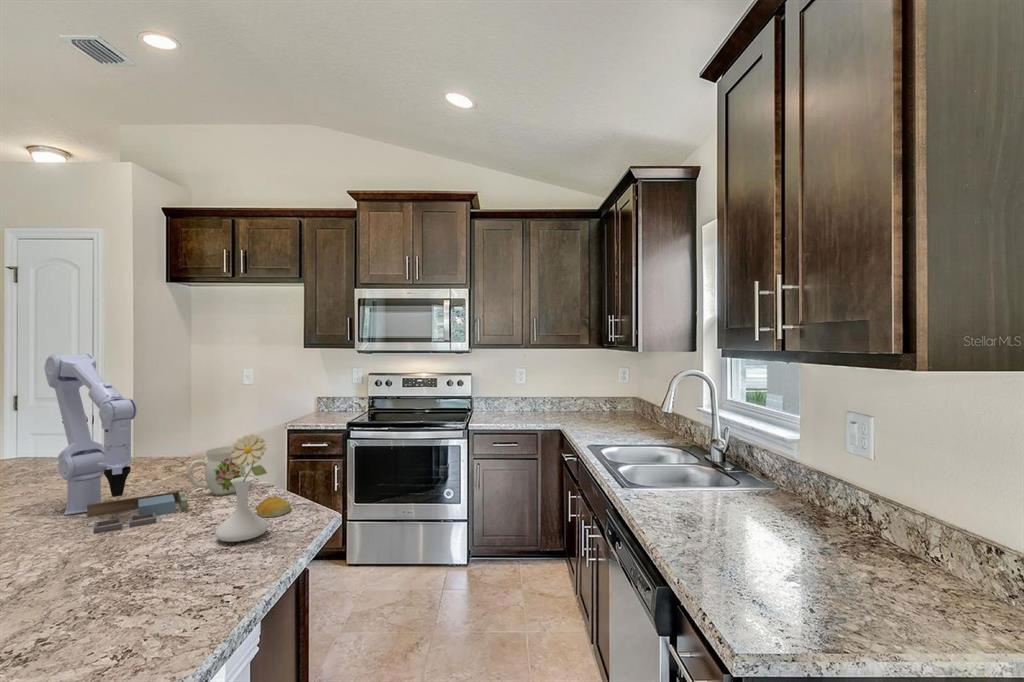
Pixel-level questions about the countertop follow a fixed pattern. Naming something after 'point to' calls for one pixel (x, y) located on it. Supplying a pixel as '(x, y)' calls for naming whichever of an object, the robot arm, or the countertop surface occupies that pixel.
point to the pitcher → (218, 471)
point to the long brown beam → (131, 504)
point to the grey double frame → (117, 523)
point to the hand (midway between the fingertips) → (117, 495)
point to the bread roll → (273, 507)
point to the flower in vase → (244, 492)
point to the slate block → (157, 505)
